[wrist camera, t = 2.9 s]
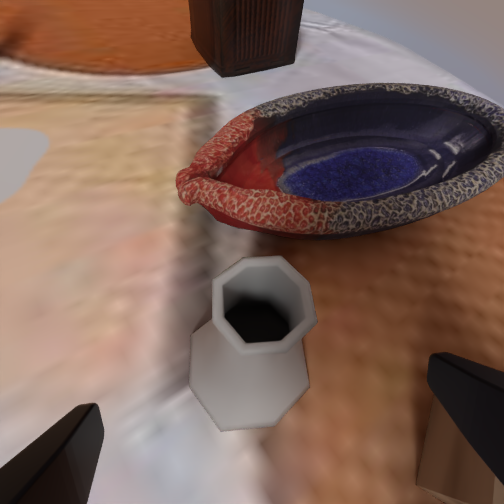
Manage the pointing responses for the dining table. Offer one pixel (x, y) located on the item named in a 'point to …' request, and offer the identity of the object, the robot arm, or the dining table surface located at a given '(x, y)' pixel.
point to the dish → (348, 160)
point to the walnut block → (454, 465)
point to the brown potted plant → (245, 33)
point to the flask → (253, 344)
